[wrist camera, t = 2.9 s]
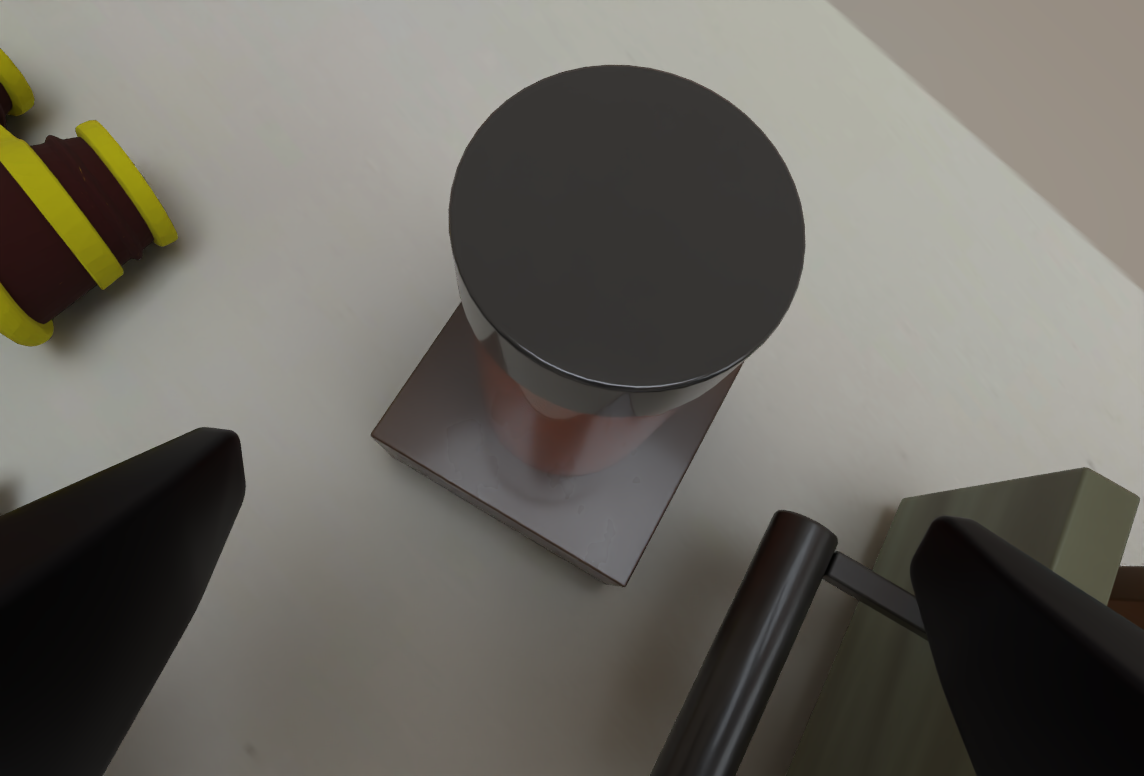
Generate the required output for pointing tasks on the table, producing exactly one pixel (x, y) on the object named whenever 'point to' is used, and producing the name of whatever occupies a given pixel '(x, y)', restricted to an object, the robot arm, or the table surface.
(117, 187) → the opera glasses
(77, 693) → the robot arm
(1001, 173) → the table surface
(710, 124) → the shaker
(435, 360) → the stand
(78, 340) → the table surface
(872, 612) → the drawer
